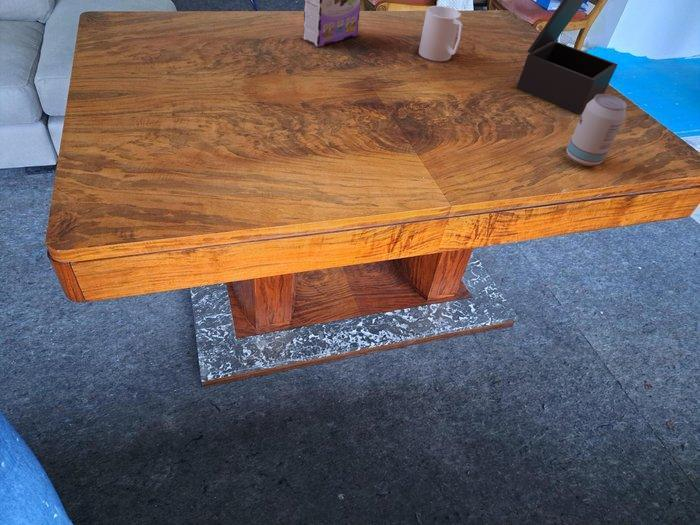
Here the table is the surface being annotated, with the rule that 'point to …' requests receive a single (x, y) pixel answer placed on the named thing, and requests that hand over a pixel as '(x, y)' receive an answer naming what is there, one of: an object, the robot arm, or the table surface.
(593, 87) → the dark piece
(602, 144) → the beverage can
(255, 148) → the table surface
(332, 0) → the candy box
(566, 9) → the lid
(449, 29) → the cup
